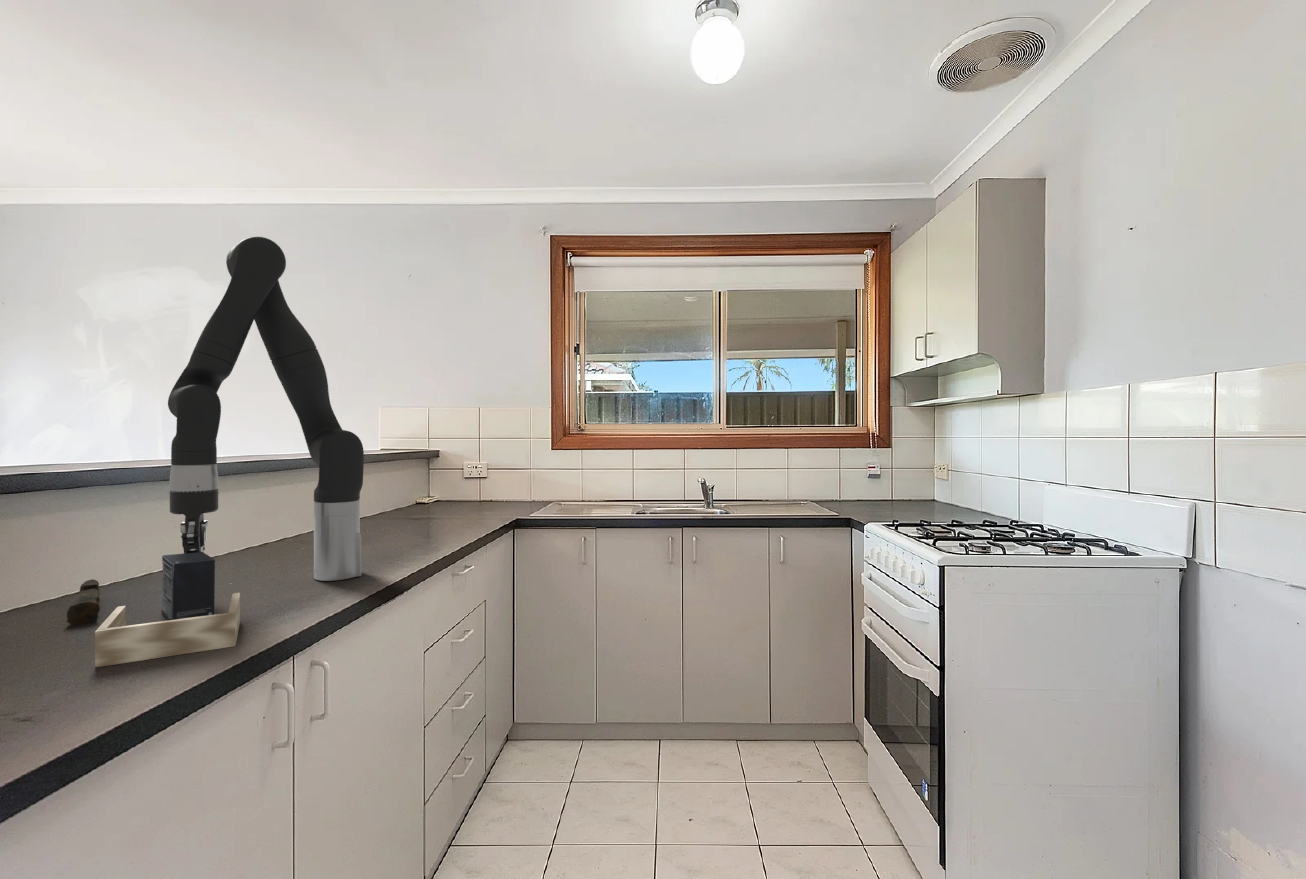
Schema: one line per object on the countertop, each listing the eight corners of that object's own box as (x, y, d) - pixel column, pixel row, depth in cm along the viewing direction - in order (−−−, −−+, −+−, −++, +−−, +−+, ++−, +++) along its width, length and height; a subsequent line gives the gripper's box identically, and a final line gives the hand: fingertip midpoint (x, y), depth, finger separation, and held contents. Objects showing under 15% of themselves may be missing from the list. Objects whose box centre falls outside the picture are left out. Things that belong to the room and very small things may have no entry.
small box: (217, 617, 106) (217, 558, 106) (170, 625, 101) (170, 563, 101) (204, 605, 113) (204, 549, 113) (160, 612, 109) (159, 554, 109)
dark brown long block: (98, 623, 103) (99, 596, 103) (66, 627, 101) (66, 600, 101) (111, 599, 118) (111, 575, 118) (83, 602, 116) (83, 578, 116)
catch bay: (240, 621, 104) (240, 592, 104) (235, 645, 92) (235, 613, 92) (117, 637, 95) (117, 606, 95) (95, 667, 83) (95, 631, 83)
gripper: (214, 489, 113) (215, 581, 113) (221, 484, 124) (221, 568, 124) (163, 491, 109) (164, 587, 109) (175, 486, 120) (175, 572, 120)
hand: (194, 576), depth 116 cm, fingers closed
